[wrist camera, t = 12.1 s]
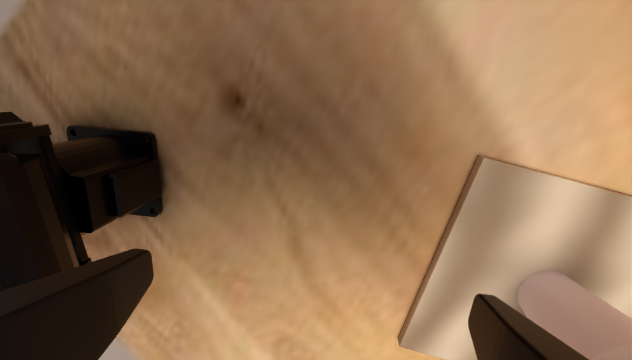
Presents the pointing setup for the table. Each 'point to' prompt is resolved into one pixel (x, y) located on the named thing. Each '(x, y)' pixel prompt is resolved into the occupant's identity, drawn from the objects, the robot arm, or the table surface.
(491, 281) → the pad
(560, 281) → the smoothie
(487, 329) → the robot arm
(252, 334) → the table surface
